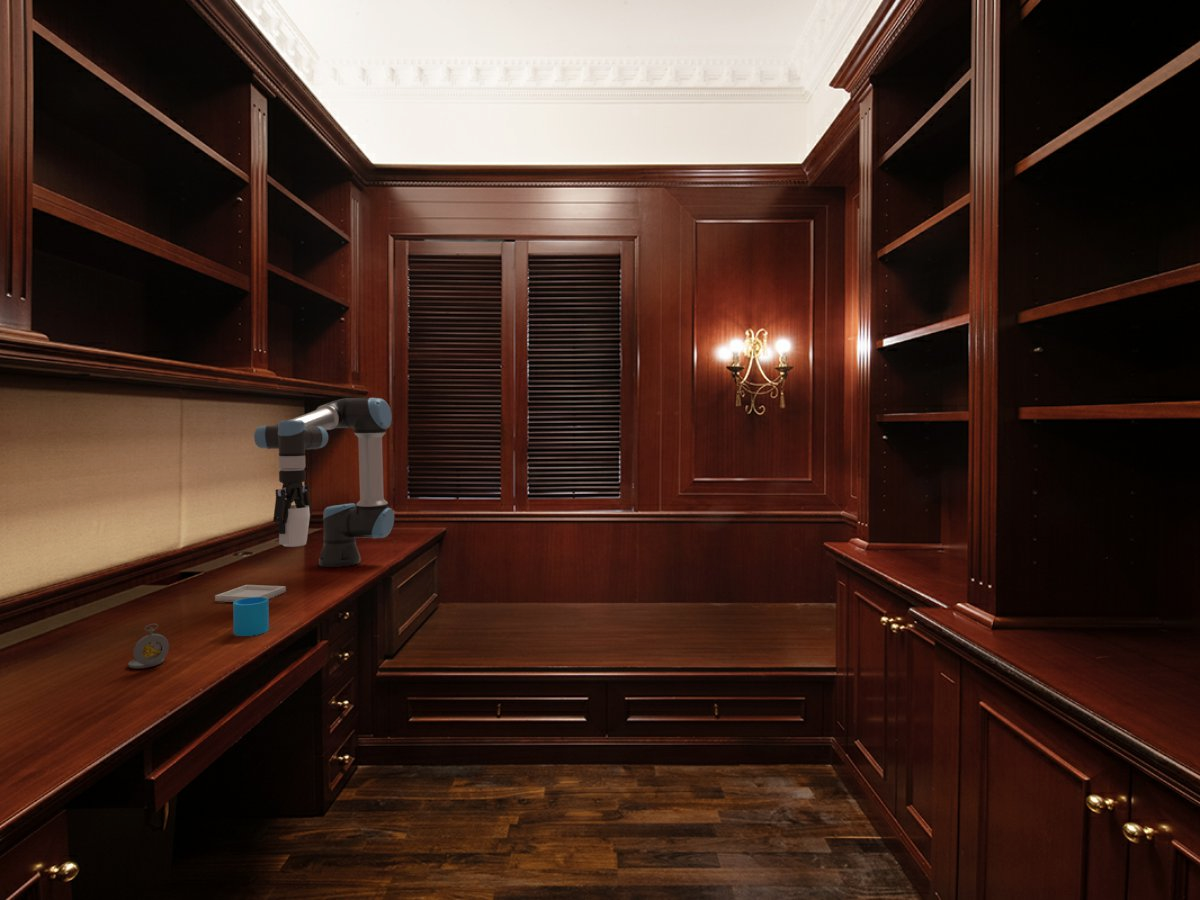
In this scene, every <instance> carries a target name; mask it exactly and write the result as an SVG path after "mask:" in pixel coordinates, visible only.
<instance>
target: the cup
mask: <svg viewBox="0 0 1200 900" xmlns="http://www.w3.org/2000/svg"><path fill="white" fill-rule="evenodd" d="M283 519H284V518H283ZM310 519H311V517H310V512H309V506H308V505H305V508H296V505H295V504H294V505H293V504H291V508H290V509H288V519H287V522H286V523H289V544H282V546H283V547H287V548H288V547H289V548H292V547H293V548H295V547H296V548H297V547H302V546H305V545H307V542H308V532H309V526H310Z"/></svg>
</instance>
